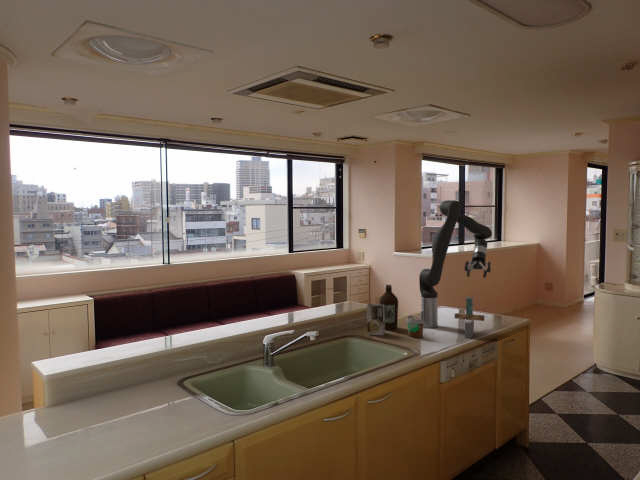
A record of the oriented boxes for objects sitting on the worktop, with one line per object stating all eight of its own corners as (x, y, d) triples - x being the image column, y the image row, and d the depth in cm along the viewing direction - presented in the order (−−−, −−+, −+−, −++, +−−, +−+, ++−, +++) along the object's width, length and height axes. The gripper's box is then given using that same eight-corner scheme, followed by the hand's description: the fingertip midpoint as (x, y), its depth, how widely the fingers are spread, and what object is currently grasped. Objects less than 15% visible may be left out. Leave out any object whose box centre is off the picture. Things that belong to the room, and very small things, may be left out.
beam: (454, 318, 259) (454, 297, 258) (455, 317, 262) (455, 296, 261) (483, 321, 252) (483, 299, 251) (484, 319, 255) (484, 298, 254)
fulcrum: (464, 337, 254) (464, 320, 253) (468, 333, 263) (468, 316, 262) (470, 338, 252) (470, 321, 252) (473, 333, 261) (473, 317, 261)
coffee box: (385, 332, 267) (385, 303, 266) (383, 335, 261) (383, 306, 260) (368, 331, 269) (368, 303, 268) (366, 334, 263) (366, 305, 262)
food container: (401, 334, 263) (401, 316, 262) (411, 333, 265) (411, 315, 264) (413, 339, 251) (413, 321, 251) (424, 338, 254) (424, 319, 253)
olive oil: (380, 325, 282) (380, 283, 281) (398, 326, 280) (398, 283, 279) (378, 330, 272) (378, 286, 270) (398, 331, 270) (397, 286, 268)
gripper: (466, 250, 286) (462, 272, 277) (491, 251, 280) (488, 273, 270) (467, 258, 291) (464, 280, 282) (492, 259, 285) (489, 281, 275)
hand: (476, 276), depth 276 cm, fingers open, 8 cm apart
